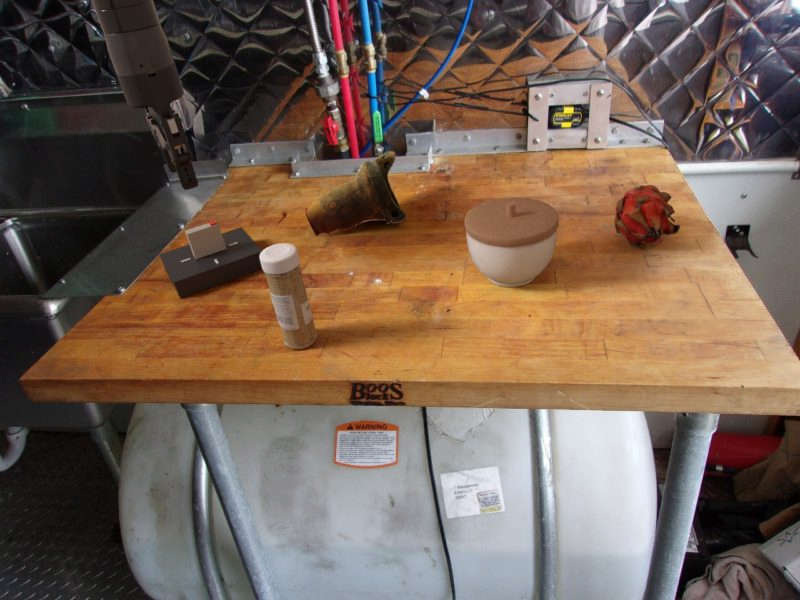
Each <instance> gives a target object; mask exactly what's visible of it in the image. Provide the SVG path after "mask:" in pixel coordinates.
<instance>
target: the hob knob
mask: <svg viewBox="0 0 800 600" xmlns="http://www.w3.org/2000/svg"><path fill="white" fill-rule="evenodd" d="M184 233H185V235H186V238H187V241H188V245H189V244H190V247H191V250H192V253H193V256H194V257H195V259H199V258H201V257H204V256H207V255H210V254H213V253H216V252H219V251H222V250H225V249H226V246H225V243H224V239H223V236H222V233H223V232H222V230H221V227H220V224H219V223H218V221H217V220H215V219H213V220H210V221H208V223H204V224H201V225H198V226H195V227H192V228H188V229H186V230H184Z"/></svg>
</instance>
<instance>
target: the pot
mask: <svg viewBox="0 0 800 600" xmlns="http://www.w3.org/2000/svg"><path fill="white" fill-rule="evenodd" d="M396 157H397V156H396V152H395V151H394V150H387V151H385V152H383V153H381V154H380V156H378V157H377V158H376V159H373V160H371V161H367V160H366V161H363V162H362V166H361V167H360V168H359V170H358V171H357V173H356V174H355V175H354V176H353V177H352V178H351V179H350V180H348V181H346V182H344V183H342V184H340V185H337V186H336V187H334V188H331V189H330V190H329V191H327V192H326V193H325V194H323V195H322V196H320V197H319V198H317V199H316V200H315V201H314V202H312V203H311V204H310V205H309V207H305V208H304V210H305V211H304V212H305V215H306V219H307V221H308V223H309V226H310V228H311V230H312V231H313V233H314V235H315V236H316V237H318V236H319V235H322V234H326V235H330V234H331V233H333V232H336V231H338V230H340V231H346V230H350V229H352V228H356V227H357V225H361V224H363V223H366V222H374V221H376V222H377V221H378V222H380V221H384V222H385V223H386V225H389V224H391V223H392V224H398V223H401V222H403V221H404V220H405V219H406V218H407V217H408V214H407V213H406V212H405V211H404V210H403V209H402V208H401V206H400V204H399V201H398V198H397V197H396V195H395V192H394V191H393V189H392V187H391V184H390V180H389V173H390V171H391V169H392V168H393V165H394V164H395V161H396Z"/></svg>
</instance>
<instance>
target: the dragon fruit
mask: <svg viewBox="0 0 800 600" xmlns="http://www.w3.org/2000/svg"><path fill="white" fill-rule="evenodd" d="M671 199H672V195H671V194H669V193H668V192H667V191H660V190H659V188H658V187H657V186H656V185H653V184H647V185H644V184H642V185H641V184H640V185H639V186H636V187H633V188H631V189H629V190H627V191H626V192H625V193H624V195H623V196H622V198H620V199H619V200H618V201H616V206H615V217H614V221H613V224H614V227H615V232H616V233H617V234H622V235H624V238H625V240H626V241H627V242H629V245H630V246H633V247H635V248H636V249H641V250H643V248H642V246H643V244H644V243H646V244H648V245H650V246H652V247H655V246H656V245H658V244H659V243H662V236H663V235H666V236H670V235H676V234H677V233H678V232H679V230H680V229H681V225H680V224H675V223H676V220H675V219H674V218H673V217H672V215H674V214H675V213H676V211H675V209H674V207H673V206H672V205H671V204H669V202H670V200H671ZM671 221H672V222H673V223H672V222H671Z"/></svg>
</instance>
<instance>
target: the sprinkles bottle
mask: <svg viewBox="0 0 800 600" xmlns="http://www.w3.org/2000/svg"><path fill="white" fill-rule="evenodd" d="M259 257H260V262H261V266H262V269H261V270H262V271H263V273H264V274H265V277H266V278H265V279H266V281H267V285H268V288H269V289H268V290H269V295H270V297H271V302H272V304H273V308H274V310H275V316H276V318H277V322H278V325H279V327H280V330H281V334H282V336H283V344H284V345H285V347H287V348H288V349H291V350H303V349H306V348H309V347H310V346H312V345H313V344H314V343H315V342H316V341H317V340H318V331H317V329H316V326H315V323H314V318H313V312H312V309H311V304H310V301H309V297H308V293H307V290H306V288H307V287H306V285H305V283H304V278H303V274H302V269H301V266H300V265H301V258H300V254H299V251H298V247H296V246H295V245H294V244H292V243H286V242H281V243H275V244H272V245H269V246H267V247H266V248H264V249H262V252H261V253H260V256H259Z"/></svg>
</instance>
